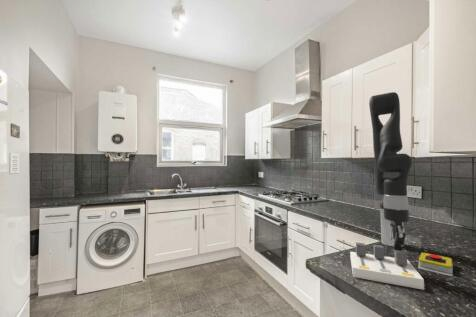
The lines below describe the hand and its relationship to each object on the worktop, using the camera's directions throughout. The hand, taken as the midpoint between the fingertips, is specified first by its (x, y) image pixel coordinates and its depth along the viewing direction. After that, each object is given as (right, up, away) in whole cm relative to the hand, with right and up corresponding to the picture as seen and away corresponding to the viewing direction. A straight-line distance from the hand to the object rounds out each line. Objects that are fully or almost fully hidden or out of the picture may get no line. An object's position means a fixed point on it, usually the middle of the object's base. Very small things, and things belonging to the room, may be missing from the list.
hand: (397, 255), depth 79 cm
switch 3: (-1, -1, -3) cm, 4 cm away
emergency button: (+17, -6, +3) cm, 18 cm away
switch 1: (-11, -2, +5) cm, 12 cm away
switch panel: (-7, -5, -2) cm, 9 cm away
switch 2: (-5, -2, +2) cm, 6 cm away
